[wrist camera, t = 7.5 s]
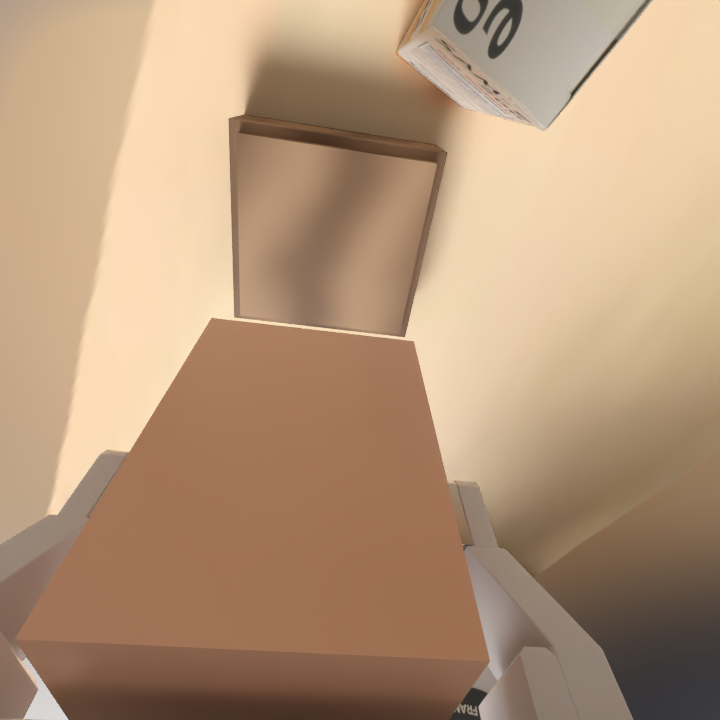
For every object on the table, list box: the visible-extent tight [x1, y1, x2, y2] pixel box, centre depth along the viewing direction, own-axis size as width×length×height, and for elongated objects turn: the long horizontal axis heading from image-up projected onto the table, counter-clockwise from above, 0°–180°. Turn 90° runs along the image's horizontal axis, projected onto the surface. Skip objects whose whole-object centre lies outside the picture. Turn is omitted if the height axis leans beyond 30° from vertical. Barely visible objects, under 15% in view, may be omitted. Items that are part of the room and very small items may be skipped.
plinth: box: [229, 115, 447, 337], centre depth 25 cm, size 11×11×4 cm
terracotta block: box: [15, 318, 490, 720], centre depth 9 cm, size 5×5×7 cm
